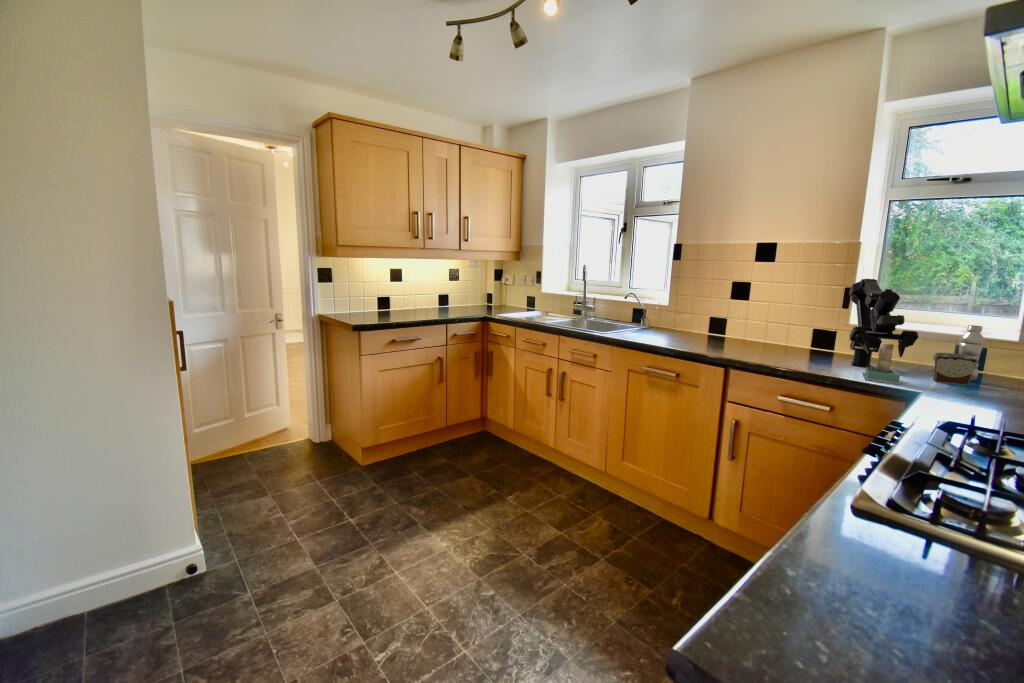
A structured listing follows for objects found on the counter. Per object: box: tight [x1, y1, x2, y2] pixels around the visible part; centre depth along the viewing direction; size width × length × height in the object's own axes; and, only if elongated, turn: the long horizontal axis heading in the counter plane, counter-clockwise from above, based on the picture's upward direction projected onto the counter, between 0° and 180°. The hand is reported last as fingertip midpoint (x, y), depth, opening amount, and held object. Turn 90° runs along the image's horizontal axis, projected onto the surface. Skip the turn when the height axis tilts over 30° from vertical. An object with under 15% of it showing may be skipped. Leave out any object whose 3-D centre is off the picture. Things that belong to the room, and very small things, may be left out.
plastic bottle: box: [958, 324, 986, 382], centre depth 166 cm, size 6×7×20 cm
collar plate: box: [862, 366, 902, 385], centre depth 163 cm, size 10×10×3 cm
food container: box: [932, 352, 980, 386], centre depth 164 cm, size 12×6×10 cm, turn 71°
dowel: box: [875, 342, 895, 373], centre depth 163 cm, size 4×4×12 cm
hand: (885, 355), depth 163 cm, fingers open, 9 cm apart
